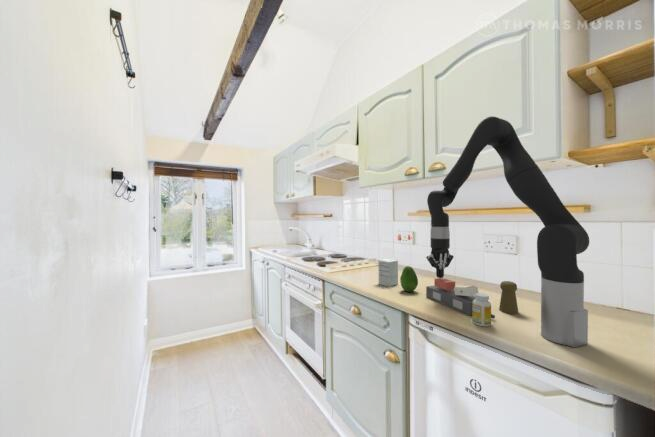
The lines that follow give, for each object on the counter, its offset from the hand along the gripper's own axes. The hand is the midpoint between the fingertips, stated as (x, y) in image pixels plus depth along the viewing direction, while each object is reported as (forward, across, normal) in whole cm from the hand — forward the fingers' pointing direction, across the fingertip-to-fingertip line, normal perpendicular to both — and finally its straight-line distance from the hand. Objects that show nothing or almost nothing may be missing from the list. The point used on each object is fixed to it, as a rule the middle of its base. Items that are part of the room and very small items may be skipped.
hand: (440, 277), depth 114 cm
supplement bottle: (+9, -6, -26) cm, 28 cm away
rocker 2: (+4, 0, -14) cm, 14 cm away
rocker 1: (+4, 0, -3) cm, 4 cm away
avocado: (+9, -6, +14) cm, 17 cm away
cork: (+9, +13, -21) cm, 26 cm away
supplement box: (+9, -8, +28) cm, 31 cm away
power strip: (+9, 0, -10) cm, 14 cm away
